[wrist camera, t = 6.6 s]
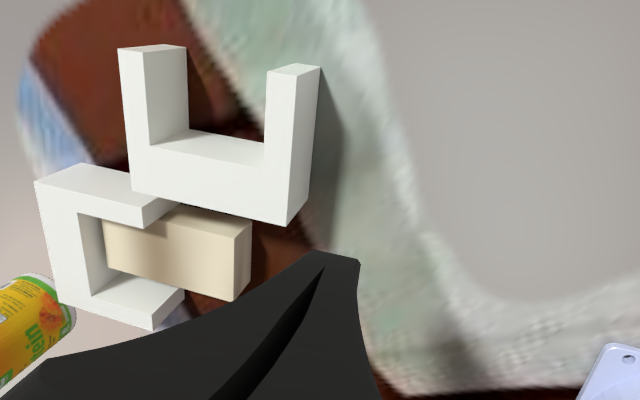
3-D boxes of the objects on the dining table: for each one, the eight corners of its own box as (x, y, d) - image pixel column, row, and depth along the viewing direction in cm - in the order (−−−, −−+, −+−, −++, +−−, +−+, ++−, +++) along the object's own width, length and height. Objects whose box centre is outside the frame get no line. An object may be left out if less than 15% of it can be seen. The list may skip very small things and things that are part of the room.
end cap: (179, 184, 23) (141, 207, 20) (184, 298, 27) (152, 331, 24) (81, 162, 25) (33, 181, 22) (98, 273, 28) (58, 302, 25)
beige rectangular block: (255, 217, 23) (234, 238, 21) (252, 277, 25) (233, 302, 23) (130, 189, 25) (99, 205, 23) (136, 246, 27) (107, 267, 24)
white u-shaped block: (164, 44, 20) (117, 48, 17) (320, 66, 19) (296, 75, 16) (171, 169, 23) (132, 190, 20) (307, 199, 21) (285, 226, 19)
